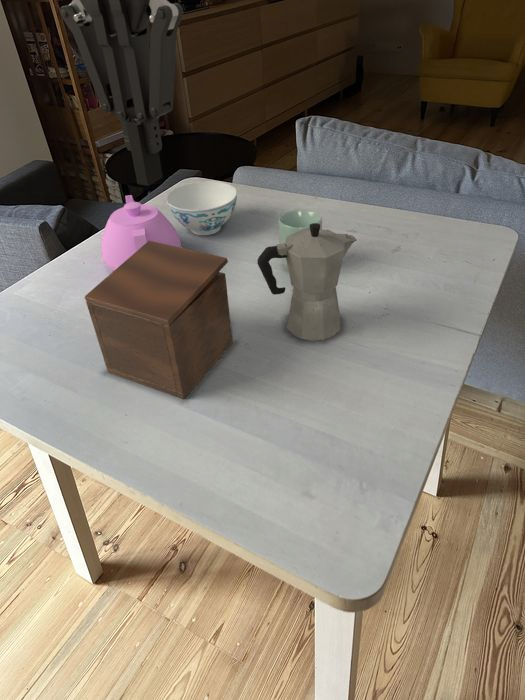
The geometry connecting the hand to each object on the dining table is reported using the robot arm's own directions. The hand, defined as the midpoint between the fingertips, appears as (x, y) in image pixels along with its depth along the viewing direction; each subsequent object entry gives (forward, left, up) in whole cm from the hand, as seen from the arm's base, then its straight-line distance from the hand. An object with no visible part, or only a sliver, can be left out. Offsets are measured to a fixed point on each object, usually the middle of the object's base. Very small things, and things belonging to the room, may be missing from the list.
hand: (150, 180), depth 60 cm
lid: (+4, +5, -17) cm, 18 cm away
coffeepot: (+19, -11, -31) cm, 38 cm away
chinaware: (+43, +24, -31) cm, 59 cm away
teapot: (+26, +28, -31) cm, 49 cm away
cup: (+36, -2, -31) cm, 48 cm away
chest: (+3, +5, -31) cm, 31 cm away
